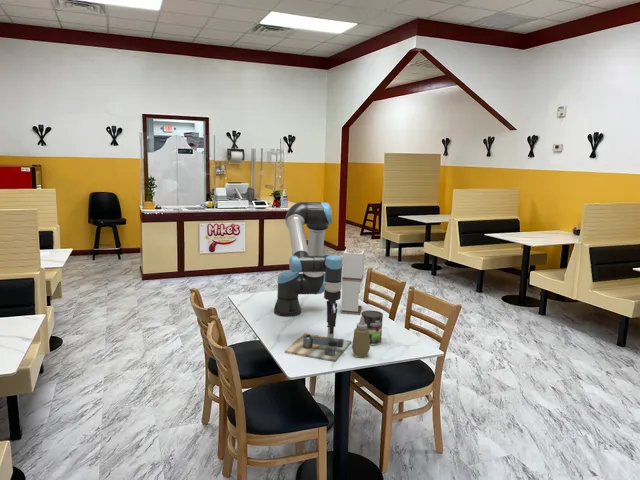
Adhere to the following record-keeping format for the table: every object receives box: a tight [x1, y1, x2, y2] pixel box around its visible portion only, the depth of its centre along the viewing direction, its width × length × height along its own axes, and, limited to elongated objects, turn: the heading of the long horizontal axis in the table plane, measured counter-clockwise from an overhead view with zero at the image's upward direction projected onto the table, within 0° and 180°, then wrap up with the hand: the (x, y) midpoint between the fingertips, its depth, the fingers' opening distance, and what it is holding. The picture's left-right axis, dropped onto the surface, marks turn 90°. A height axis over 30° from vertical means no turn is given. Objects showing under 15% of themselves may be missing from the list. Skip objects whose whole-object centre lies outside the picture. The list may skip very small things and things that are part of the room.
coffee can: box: [360, 310, 384, 346], centre depth 238 cm, size 10×10×14 cm
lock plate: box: [284, 332, 352, 363], centre depth 229 cm, size 24×24×7 cm
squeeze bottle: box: [351, 315, 371, 358], centre depth 221 cm, size 8×8×18 cm
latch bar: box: [303, 335, 345, 348], centre depth 225 cm, size 18×4×5 cm, turn 79°
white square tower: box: [340, 248, 365, 316], centre depth 281 cm, size 11×11×35 cm
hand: (330, 339), depth 227 cm, fingers closed
